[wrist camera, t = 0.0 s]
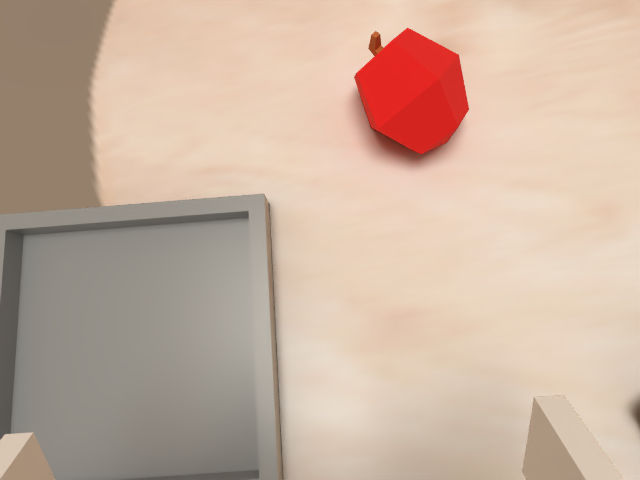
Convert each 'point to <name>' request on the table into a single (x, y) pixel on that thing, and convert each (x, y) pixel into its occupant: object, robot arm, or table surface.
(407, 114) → the apple
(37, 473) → the robot arm
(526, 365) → the table surface
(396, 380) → the table surface
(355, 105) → the table surface
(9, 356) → the tray
